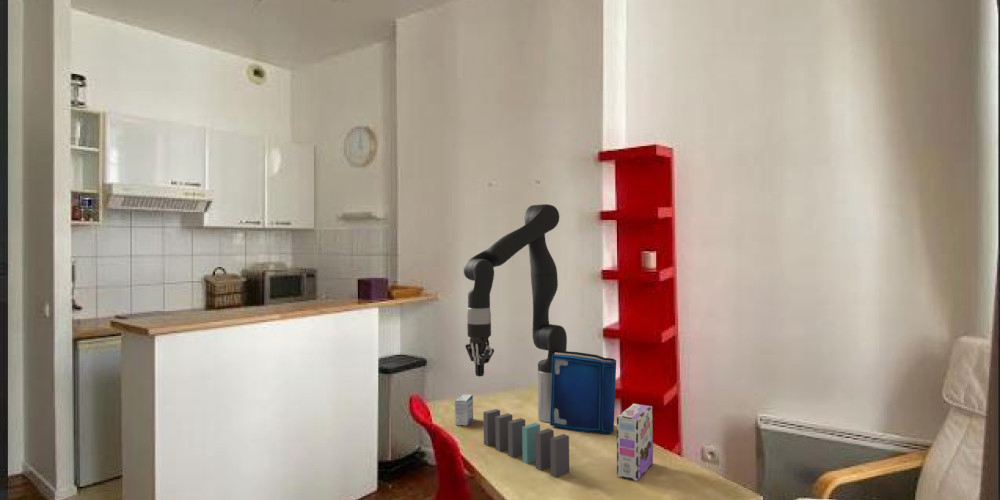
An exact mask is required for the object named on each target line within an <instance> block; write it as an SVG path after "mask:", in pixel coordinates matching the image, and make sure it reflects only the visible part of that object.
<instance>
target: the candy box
mask: <svg viewBox="0 0 1000 500" xmlns="http://www.w3.org/2000/svg"><path fill="white" fill-rule="evenodd" d="M653 431H654V430H653V406H652V405H646V404H639V403H632V404H631V405H630V406H628V407H627V408H626V409H625V410H623V411H622V412H621V413H619V414H618V415H617V416H616V476H617V477H619V478H623V479H628V480H630V481H631V480H632V481H634V482H638V481H639V480H640V479H641V478H642V477H643V475H645V474H646V472H647V471H648V470H649V468H650V467H651V466H652V465H653V464H654V462H653V461H654V454H653V453H654V451H653V450H654V449H653V448H654V446H653V444H654V443H653V440H654V438H653V437H654V436H653Z"/></svg>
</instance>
